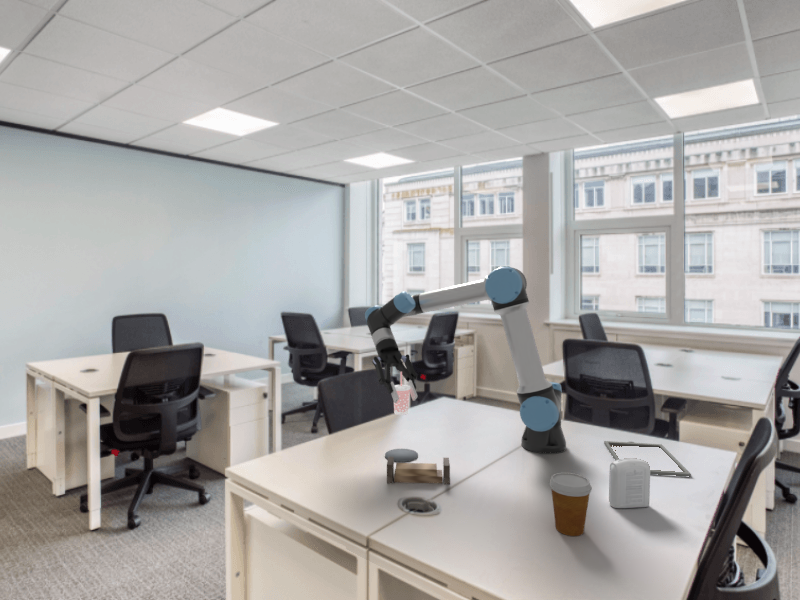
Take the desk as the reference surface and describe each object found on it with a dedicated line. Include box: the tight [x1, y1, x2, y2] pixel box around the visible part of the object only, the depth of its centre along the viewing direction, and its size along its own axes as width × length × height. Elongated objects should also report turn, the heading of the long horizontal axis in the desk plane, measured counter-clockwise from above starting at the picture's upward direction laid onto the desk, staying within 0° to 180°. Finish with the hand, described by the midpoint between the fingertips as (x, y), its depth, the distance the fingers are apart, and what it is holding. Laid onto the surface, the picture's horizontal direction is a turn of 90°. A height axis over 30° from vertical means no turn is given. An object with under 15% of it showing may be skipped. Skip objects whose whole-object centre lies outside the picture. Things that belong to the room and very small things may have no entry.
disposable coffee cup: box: [548, 472, 593, 537], centre depth 116 cm, size 10×10×12 cm
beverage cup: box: [393, 371, 410, 416], centre depth 164 cm, size 6×6×14 cm
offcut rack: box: [386, 457, 451, 485], centre depth 145 cm, size 18×6×6 cm, turn 87°
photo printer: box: [608, 458, 651, 509], centre depth 128 cm, size 10×4×12 cm, turn 98°
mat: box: [384, 448, 419, 463], centre depth 165 cm, size 11×11×1 cm
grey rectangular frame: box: [603, 440, 692, 478], centre depth 163 cm, size 19×2×30 cm
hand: (406, 399), depth 161 cm, fingers closed on beverage cup, 6 cm apart
